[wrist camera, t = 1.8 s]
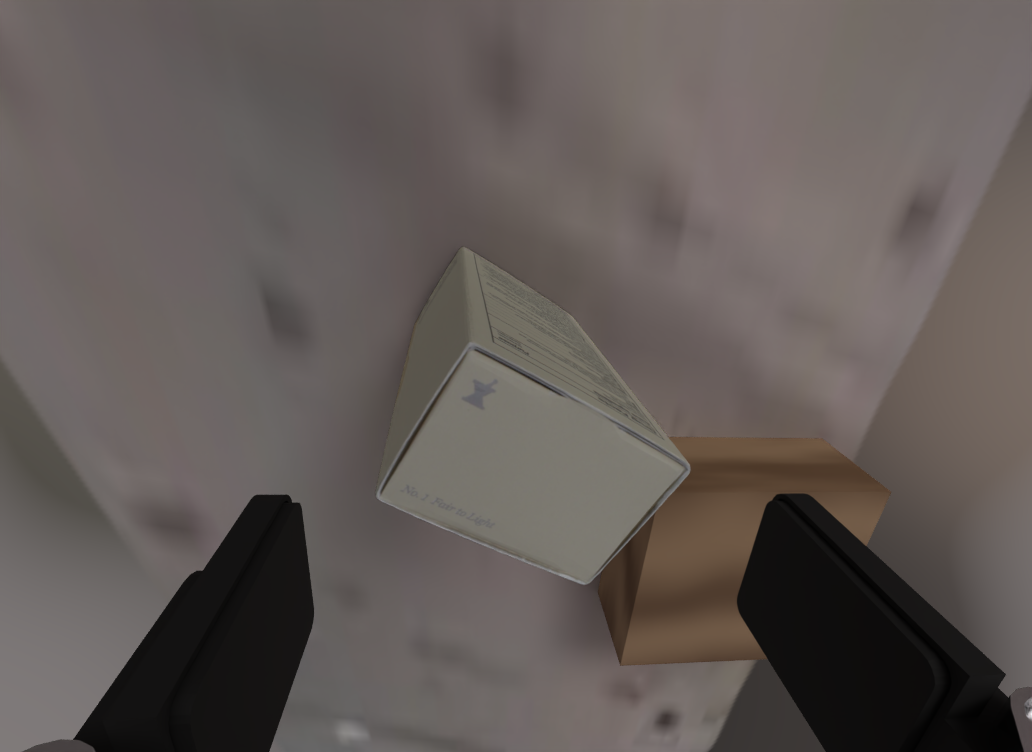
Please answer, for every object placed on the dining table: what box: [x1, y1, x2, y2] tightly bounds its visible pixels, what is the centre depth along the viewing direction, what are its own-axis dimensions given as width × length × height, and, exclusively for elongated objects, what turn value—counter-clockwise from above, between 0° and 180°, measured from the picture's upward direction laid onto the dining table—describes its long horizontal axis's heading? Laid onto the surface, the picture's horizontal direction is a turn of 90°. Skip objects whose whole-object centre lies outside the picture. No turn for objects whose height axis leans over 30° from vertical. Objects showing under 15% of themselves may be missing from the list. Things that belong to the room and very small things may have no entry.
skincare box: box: [375, 247, 691, 585], centre depth 16 cm, size 6×4×12 cm
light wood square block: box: [598, 437, 891, 666], centre depth 26 cm, size 11×11×5 cm
